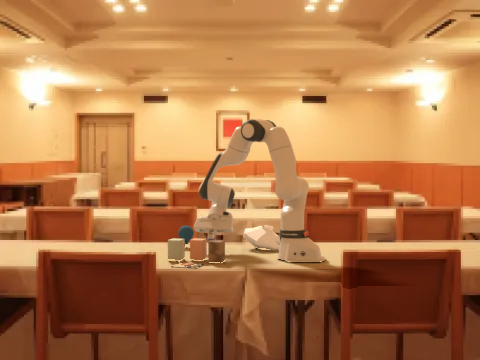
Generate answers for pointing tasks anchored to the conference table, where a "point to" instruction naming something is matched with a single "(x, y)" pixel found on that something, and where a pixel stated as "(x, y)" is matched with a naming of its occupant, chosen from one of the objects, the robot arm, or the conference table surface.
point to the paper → (262, 237)
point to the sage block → (176, 249)
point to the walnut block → (216, 251)
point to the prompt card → (191, 264)
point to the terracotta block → (198, 249)
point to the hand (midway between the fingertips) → (210, 238)
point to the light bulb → (186, 233)
